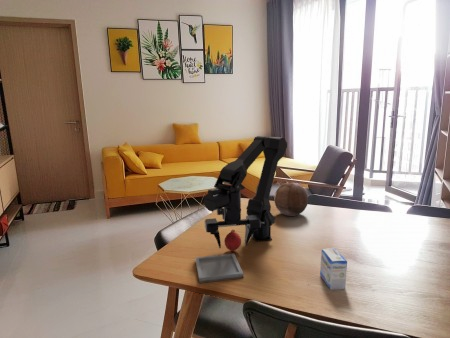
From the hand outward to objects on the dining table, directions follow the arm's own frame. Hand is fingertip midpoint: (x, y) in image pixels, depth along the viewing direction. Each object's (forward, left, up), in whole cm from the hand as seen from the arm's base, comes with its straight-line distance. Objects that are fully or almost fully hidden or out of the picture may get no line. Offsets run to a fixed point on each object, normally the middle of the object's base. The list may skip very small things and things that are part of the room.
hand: (232, 246), depth 112 cm
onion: (0, 0, -2) cm, 2 cm away
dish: (+7, +11, -2) cm, 13 cm away
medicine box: (-24, +25, -2) cm, 35 cm away
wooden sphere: (-33, -30, -2) cm, 45 cm away
